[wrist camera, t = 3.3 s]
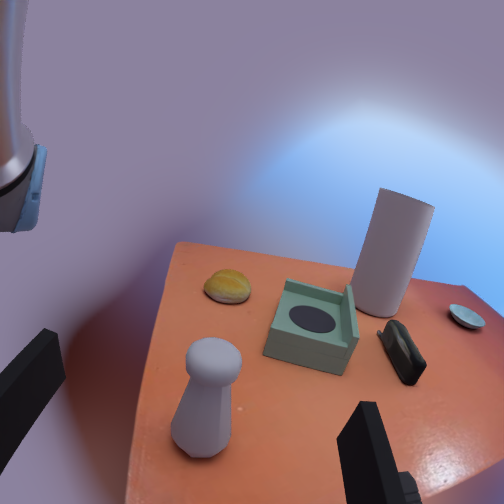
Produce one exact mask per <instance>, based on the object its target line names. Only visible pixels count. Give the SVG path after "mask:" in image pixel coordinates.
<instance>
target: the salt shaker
mask: <svg viewBox="0 0 504 504" xmlns="http://www.w3.org/2000/svg"><path fill="white" fill-rule="evenodd" d="M241 367H242V358H241V355H240V352H239V351H238V350H237V349H236V348H235V347H234V346H233V345H232V344H231V343H230V342H228V341H226V340H224V339H220V338H215V337H210V338H203V339H200V340H198V341H196V342H193V343H192V344H191V346H190V347H189V349H188V351H187V354H186V370H187V373H188V374H189V375H190V380H189V382H188V385H187V387H186V389H185V392H184V394H183V396H182V399H181V401H180V403H179V406H178V408H177V410H176V413H175V415H174V417H173V420H172V422H171V436H172V438H173V439H174V441H175V442H176V444H177V445H178V447H180V448H181V449H182V450H184V451H185V452H186V453H187V454H188V455H189V456H191V457H212V456H214V455H216V454H217V453H218V452H220V451H221V450H223V449H224V448H225V447H226V446H227V444H228V442H229V439H230V437H231V383H233V382H234V381H235V380H236V379H237V377H238V375H239V373H240V370H241Z"/></svg>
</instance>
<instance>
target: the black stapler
mask: <svg viewBox="0 0 504 504" xmlns="http://www.w3.org/2000/svg"><path fill="white" fill-rule="evenodd" d="M377 333H378V335H379V336H380V338H381V340H382V341H383V344H384V346H385V347H386V350H387V352H388V354H389V356H390V358H391V360H392V362H393V365H394V367H395V369H396V371H397V373H398V375H399V377H400V379H401V380H402V381H403V382H404V383H406V384H409V385H414V384H416V383H417V381H418V379H419V378H420V376H421V374H422V373H423V371H424V370H425V368H426V366H427V364H426V362H425V360H424V359H423V357H422V356H421V354H420V352H419V351H418V348H417V347H416V345H415V344H414V342H413V341H412V339H411V337H410V335H409V333H408V330H407V329H406V327H405V326H404V325H402V324H401V323H400V322H399V321H397V320H390V321H388V322H387V324H386V326H385V329H384V331H383V333H381V331H380V330H378V331H377Z"/></svg>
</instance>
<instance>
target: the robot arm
mask: <svg viewBox="0 0 504 504" xmlns="http://www.w3.org/2000/svg"><path fill="white" fill-rule="evenodd" d="M28 2H29V0H0V232H11V233H16V232H19V231H29V230H32V229H33V228H34V227H35V226H36V224H37V220H38V213H39V205H40V196H41V189H42V182H43V175H44V168H45V162H46V156H47V149H46V147H44V146H40V145H39V144H38V145H37V144H36V145H34V139H33V135H32V133H31V131H30V130H29V128H27V126H26V125H24V124H23V123H22V122H21V96H20V95H21V92H20V91H21V62H22V48H23V37H24V29H25V21H26V14H27V7H28ZM65 379H66V376H65V371H64V367H63V362H62V357H61V351H60V346H59V340H58V334H57V333H55V332H53V331H50V330H48V329H45V328H44V329H43V330H42V331H41V332H40V333H39V334H38V335H37V336H36V337H35V338H34V339H33V340H32V341H31V342H30V343H29V344H28V345H27V346H26V347H25V348H24V349H23V350H22V351H21V352H20V353H19V354H18V355H17V356H16V357H15V358H14V359H13V360H12V361H11V363H9V365H8V366H7V367H6V368H5V369H4V370H3V371H2V372H1V373H0V475H1V473H2V472H3V470H4V468H5V467H6V465H7V463H8V462H9V460H10V459H11V457H12V456H13V454H14V452H15V451H16V449H17V448H18V446H19V445H20V443H21V441H22V440H23V439H24V437H25V435H26V434H27V433H28V431H29V430H30V428H31V427H32V425H33V424H34V422H35V421H36V419H37V418H38V416H39V415H40V414H41V412H42V411H43V409H44V408H45V406H46V405H47V404H48V402H49V401H50V399H51V398H52V397H53V395H54V394H55V392H56V391H57V390H58V388H59V387H60V386H61V384H62V383H63V381H64V380H65ZM336 440H337V445H338V451H339V457H340V463H341V469H342V475H343V482H344V488H345V495H346V501H347V504H422V502H421V497H420V494H419V493H418V488H417V484H416V481H415V480H414V478H413V477H412V476H411V474H410V473H409V472H408V471H407V472H398V470H397V467H396V463H395V460H394V457H393V453H392V450H391V447H390V444H389V441H388V437H387V434H386V431H385V428H384V425H383V422H382V419H381V416H380V413H379V410H378V407H377V404H376V402H368V401H360V402H359V404H358V406H357V407H356V409H355V411H354V412H353V414H352V415H351V417H350V419H349V420H348V422H347V423H346V425H345V427H344V428H343V430H342V431H341V433H340V434H339V436H338V437H337V439H336Z"/></svg>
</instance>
